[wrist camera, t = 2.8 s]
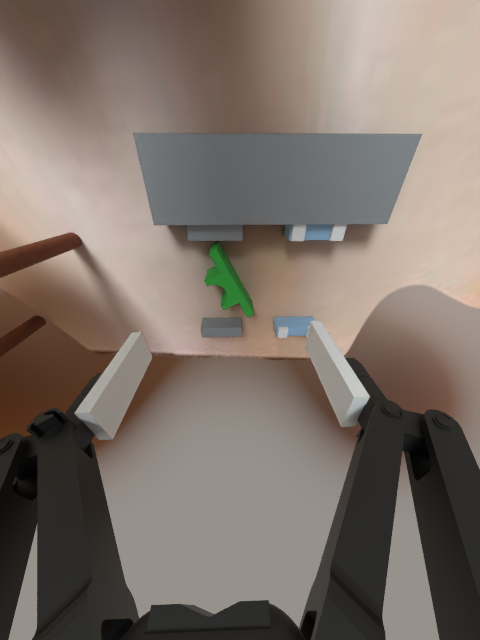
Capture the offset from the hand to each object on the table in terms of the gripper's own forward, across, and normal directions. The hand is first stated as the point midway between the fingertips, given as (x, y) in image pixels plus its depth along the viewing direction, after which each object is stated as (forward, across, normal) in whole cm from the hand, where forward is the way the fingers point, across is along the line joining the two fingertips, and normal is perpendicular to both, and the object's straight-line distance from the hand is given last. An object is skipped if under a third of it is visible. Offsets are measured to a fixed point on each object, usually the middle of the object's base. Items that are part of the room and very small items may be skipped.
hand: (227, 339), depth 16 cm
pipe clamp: (+18, -1, -2) cm, 18 cm away
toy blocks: (+18, +5, +1) cm, 18 cm away
